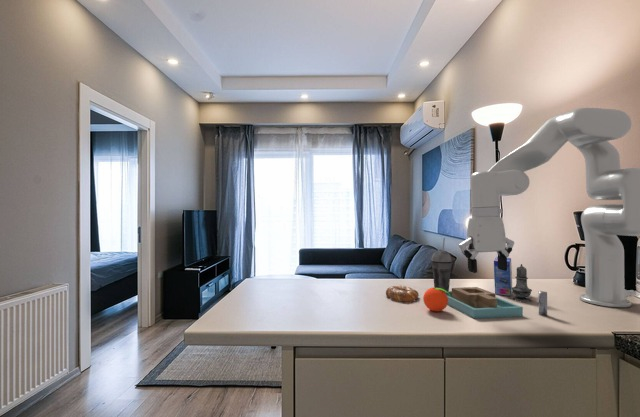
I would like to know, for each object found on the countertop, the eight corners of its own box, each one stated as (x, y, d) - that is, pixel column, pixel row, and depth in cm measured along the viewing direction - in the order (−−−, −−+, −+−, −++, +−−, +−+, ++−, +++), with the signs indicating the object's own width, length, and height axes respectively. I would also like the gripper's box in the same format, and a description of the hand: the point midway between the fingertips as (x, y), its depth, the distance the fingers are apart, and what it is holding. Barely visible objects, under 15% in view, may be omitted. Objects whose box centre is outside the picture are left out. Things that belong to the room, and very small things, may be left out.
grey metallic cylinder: (543, 313, 94) (543, 291, 94) (549, 315, 92) (548, 292, 92) (537, 313, 94) (536, 291, 94) (542, 316, 92) (542, 293, 92)
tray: (478, 297, 112) (478, 290, 112) (522, 316, 92) (522, 307, 92) (437, 299, 110) (437, 291, 110) (474, 318, 90) (474, 309, 90)
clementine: (454, 310, 98) (454, 286, 98) (448, 316, 92) (448, 291, 92) (427, 306, 102) (426, 283, 102) (420, 312, 96) (420, 287, 96)
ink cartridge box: (495, 288, 125) (495, 250, 125) (512, 290, 122) (512, 251, 122) (493, 294, 116) (493, 253, 116) (511, 296, 113) (511, 254, 113)
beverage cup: (426, 291, 120) (426, 237, 120) (443, 290, 122) (443, 236, 122) (439, 296, 113) (439, 239, 113) (457, 295, 115) (456, 238, 115)
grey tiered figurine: (535, 302, 105) (535, 265, 106) (515, 301, 107) (515, 265, 107) (527, 298, 111) (527, 262, 111) (508, 297, 112) (508, 262, 113)
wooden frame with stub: (477, 299, 108) (476, 286, 108) (507, 312, 94) (507, 298, 94) (451, 300, 106) (451, 288, 106) (478, 313, 93) (478, 299, 93)
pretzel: (423, 304, 106) (423, 292, 106) (389, 303, 106) (389, 292, 106) (414, 294, 118) (414, 283, 118) (383, 294, 118) (383, 283, 118)
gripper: (503, 212, 102) (505, 267, 102) (451, 214, 99) (453, 270, 99) (521, 212, 94) (523, 271, 94) (466, 214, 92) (468, 275, 92)
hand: (487, 271), depth 97 cm, fingers open, 9 cm apart
